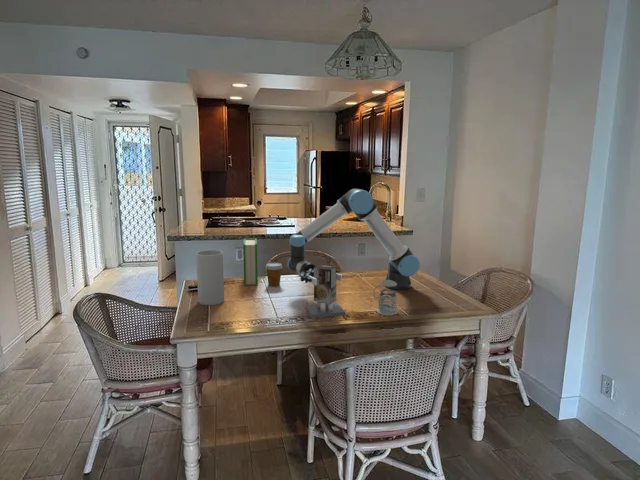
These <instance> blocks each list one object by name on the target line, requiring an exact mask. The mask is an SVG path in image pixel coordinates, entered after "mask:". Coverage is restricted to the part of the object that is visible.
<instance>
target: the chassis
mask: <svg viewBox="0 0 640 480" xmlns="http://www.w3.org/2000/svg"><path fill="white" fill-rule="evenodd" d="M304 307H305V308H304V309H305V311H306V312H307V313H308V315H309V317H310V318H313V319H314V318H326V317H335V316H345V315H346V311H345V310H344V309H343V308H342V306H340V305H339V303H334V302H333V303H324V302H318V301H316V304H314V305H313V304H311V305H305V306H304Z"/></svg>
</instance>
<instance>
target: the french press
mask: <svg viewBox="0 0 640 480" xmlns="http://www.w3.org/2000/svg"><path fill="white" fill-rule="evenodd" d="M388 263H391V260H388V259H387V264H388ZM396 285H397V283H396V282H394V281H392V280H389V276H388V280H385V279H383V280H382V281H380V282H379V284H378V285H377V286H375V287H374V289H373V292H375V291H376V289H377V288H381V286H383V287H385V286H387V287H394V286H396ZM387 287H386V289H381V290H380V293H379V298H378V297H376V295H375V294H373V298H374V299H375V300H376V301H378V309H377V310H376V313H378V314H380V315H383V316H384V315H385V316H394V314H395V315H397V314H398V313H397V312H398V310H397V308H396V307H397V295H396V293H397V292H396V291H395V289H390V288H387Z"/></svg>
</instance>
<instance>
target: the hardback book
mask: <svg viewBox="0 0 640 480" xmlns="http://www.w3.org/2000/svg"><path fill="white" fill-rule="evenodd" d="M257 239H258V238H249V237H248V238H243V243H242V244H243V247H242V250H243V282H244V283H243V285H244V286H243V287H247V285H249V286H250V285H255V286H256V287H257V286H258V242H257V241H258V240H257Z"/></svg>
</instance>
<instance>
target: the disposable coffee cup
mask: <svg viewBox="0 0 640 480" xmlns="http://www.w3.org/2000/svg"><path fill="white" fill-rule="evenodd" d="M265 269H266V270H265V271H266V276H267V282H268V286H269V287H279V286H280V285H281V284H280V283H281V276H282V269H283V264H282V263H280V262H269V263H266V265H265Z"/></svg>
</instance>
